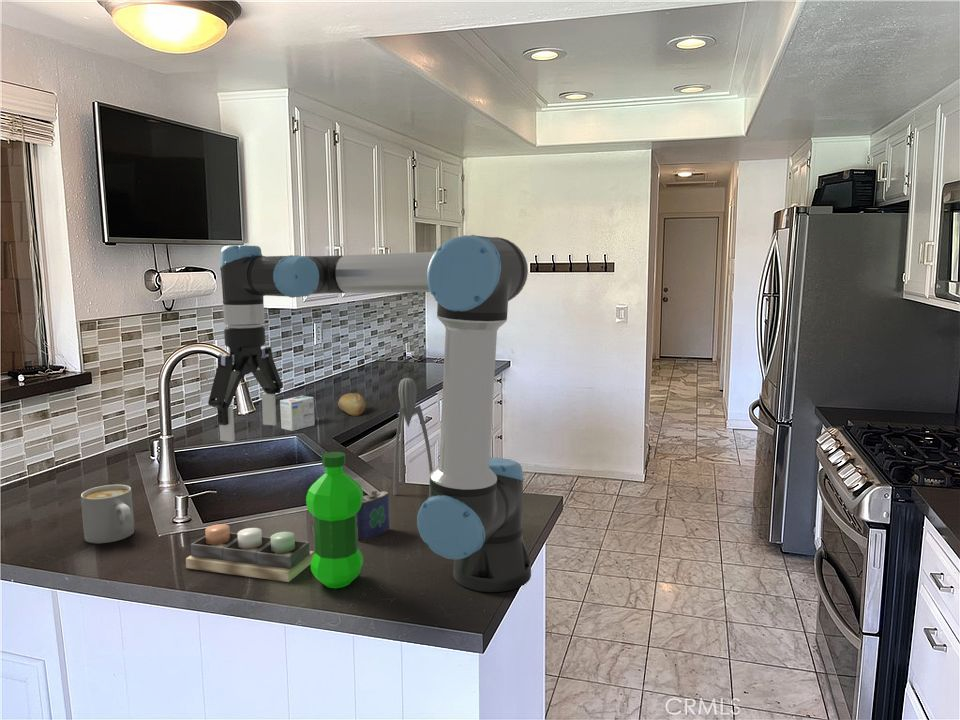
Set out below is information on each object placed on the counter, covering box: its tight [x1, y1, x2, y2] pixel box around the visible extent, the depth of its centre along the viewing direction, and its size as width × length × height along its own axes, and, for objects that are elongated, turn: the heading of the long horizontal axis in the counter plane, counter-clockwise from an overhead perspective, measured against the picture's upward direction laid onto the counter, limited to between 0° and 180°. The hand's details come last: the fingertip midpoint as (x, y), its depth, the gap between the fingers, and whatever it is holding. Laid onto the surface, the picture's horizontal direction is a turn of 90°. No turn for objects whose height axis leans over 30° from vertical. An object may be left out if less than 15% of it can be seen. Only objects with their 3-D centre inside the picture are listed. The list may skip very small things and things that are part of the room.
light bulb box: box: [279, 395, 316, 432], centre depth 257 cm, size 11×7×11 cm, turn 144°
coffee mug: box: [80, 484, 135, 544], centre depth 156 cm, size 13×10×10 cm
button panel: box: [185, 532, 315, 583], centre depth 142 cm, size 23×10×4 cm, turn 74°
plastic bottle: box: [305, 451, 364, 589], centre depth 132 cm, size 10×10×25 cm
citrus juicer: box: [393, 377, 434, 496], centre depth 186 cm, size 11×10×30 cm
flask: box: [357, 488, 390, 543], centre depth 156 cm, size 9×3×11 cm, turn 144°
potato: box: [337, 392, 366, 417], centre depth 280 cm, size 10×15×8 cm, turn 34°
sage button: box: [270, 531, 296, 553], centre depth 139 cm, size 5×5×2 cm
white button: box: [236, 527, 263, 549], centre depth 141 cm, size 5×5×2 cm
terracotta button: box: [204, 523, 231, 545], centre depth 143 cm, size 5×5×2 cm
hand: (249, 432), depth 140 cm, fingers open, 13 cm apart
